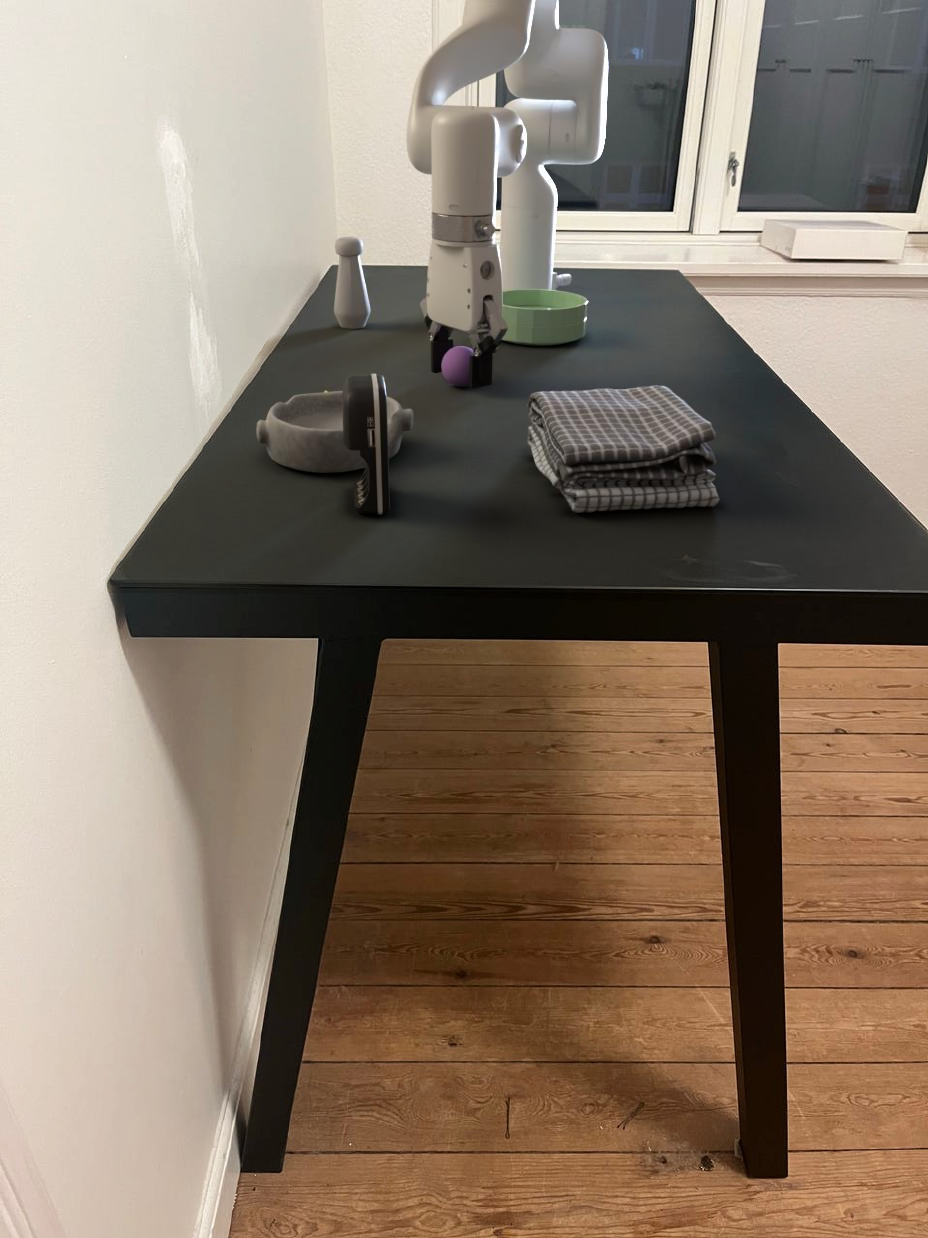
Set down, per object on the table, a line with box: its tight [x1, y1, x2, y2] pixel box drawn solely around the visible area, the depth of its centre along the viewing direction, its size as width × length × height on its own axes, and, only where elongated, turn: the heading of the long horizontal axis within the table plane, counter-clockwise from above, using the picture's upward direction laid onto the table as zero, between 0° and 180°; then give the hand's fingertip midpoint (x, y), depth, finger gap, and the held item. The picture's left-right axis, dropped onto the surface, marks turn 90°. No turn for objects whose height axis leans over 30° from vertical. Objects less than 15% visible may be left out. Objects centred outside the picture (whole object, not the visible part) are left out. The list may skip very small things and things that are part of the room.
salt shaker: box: [333, 236, 372, 330], centre depth 142 cm, size 6×6×13 cm
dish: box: [255, 390, 414, 474], centre depth 94 cm, size 14×14×5 cm
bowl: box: [501, 289, 589, 346], centre depth 140 cm, size 15×15×6 cm
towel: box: [526, 384, 720, 514], centre depth 89 cm, size 15×18×8 cm
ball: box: [441, 345, 474, 388], centre depth 116 cm, size 5×5×5 cm
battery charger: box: [342, 373, 391, 516], centre depth 81 cm, size 7×4×11 cm, turn 7°
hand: (460, 377), depth 117 cm, fingers open, 7 cm apart
